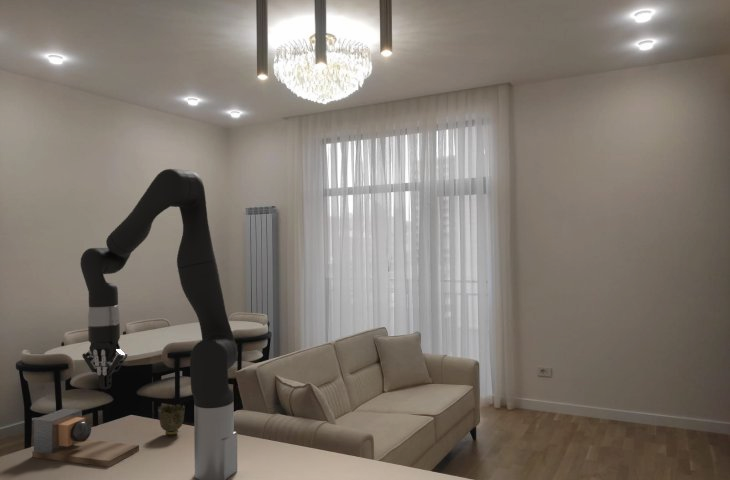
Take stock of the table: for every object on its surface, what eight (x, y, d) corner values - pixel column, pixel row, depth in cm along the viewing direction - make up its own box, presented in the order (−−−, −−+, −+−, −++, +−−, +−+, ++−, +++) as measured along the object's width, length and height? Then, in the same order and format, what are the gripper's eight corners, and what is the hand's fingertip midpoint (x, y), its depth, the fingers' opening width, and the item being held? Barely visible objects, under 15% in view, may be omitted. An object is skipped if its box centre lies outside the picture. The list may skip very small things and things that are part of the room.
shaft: (91, 438, 146) (91, 419, 146) (76, 444, 141) (76, 425, 141) (55, 434, 149) (55, 416, 149) (40, 440, 144) (40, 421, 145)
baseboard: (139, 450, 146) (139, 445, 146) (109, 466, 135) (109, 460, 135) (65, 442, 153) (65, 437, 153) (32, 457, 142) (32, 451, 142)
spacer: (85, 438, 147) (85, 417, 147) (67, 446, 141) (67, 425, 141) (76, 437, 148) (76, 417, 148) (58, 445, 142) (58, 424, 142)
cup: (176, 440, 154) (176, 412, 154) (153, 438, 155) (153, 410, 155) (189, 431, 161) (189, 404, 161) (167, 429, 163) (167, 403, 163)
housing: (81, 440, 150) (81, 409, 150) (52, 453, 140) (52, 421, 140) (64, 438, 152) (64, 408, 152) (33, 451, 142) (33, 419, 142)
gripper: (72, 324, 141) (73, 391, 140) (114, 325, 137) (116, 393, 137) (94, 320, 148) (95, 384, 148) (134, 321, 144) (136, 386, 144)
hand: (105, 388), depth 142 cm, fingers closed
